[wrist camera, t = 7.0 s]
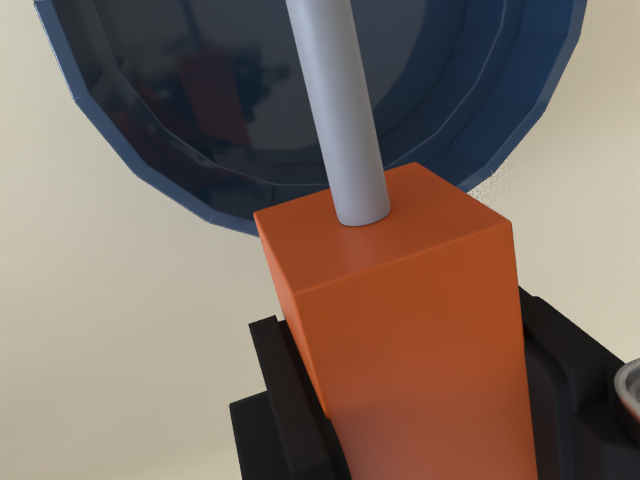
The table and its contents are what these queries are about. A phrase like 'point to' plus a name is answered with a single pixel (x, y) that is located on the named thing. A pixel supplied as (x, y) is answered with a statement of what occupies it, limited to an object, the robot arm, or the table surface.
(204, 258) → the table surface
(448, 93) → the navy round tub
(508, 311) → the screwdriver
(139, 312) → the table surface
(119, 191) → the table surface
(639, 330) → the table surface
